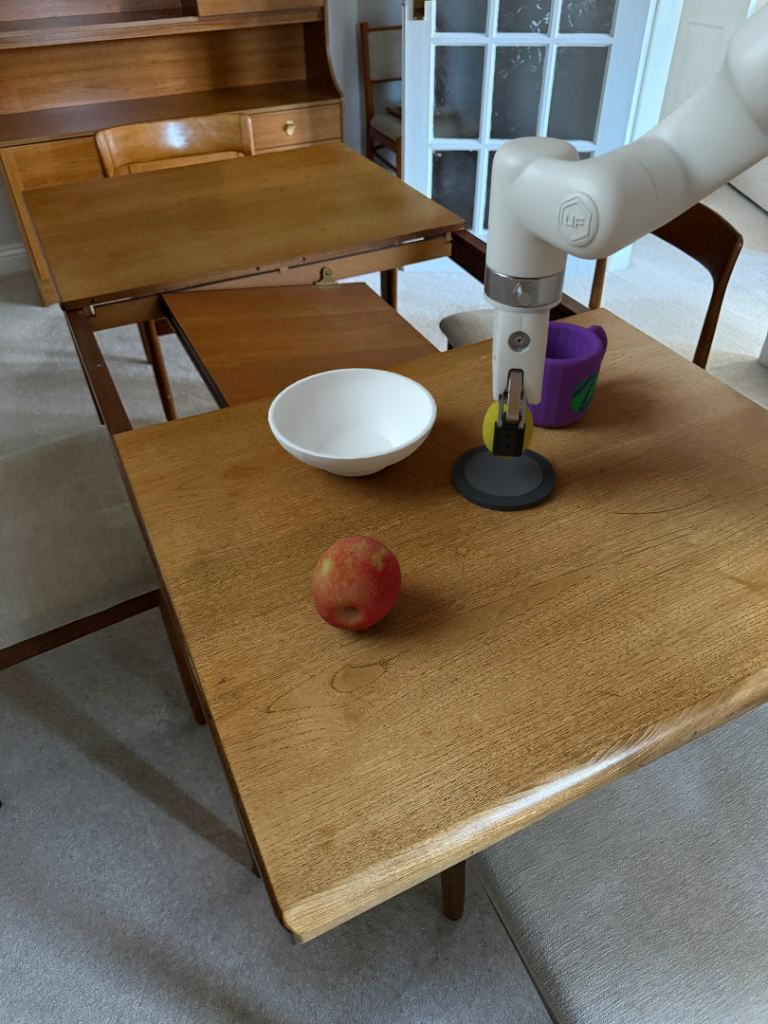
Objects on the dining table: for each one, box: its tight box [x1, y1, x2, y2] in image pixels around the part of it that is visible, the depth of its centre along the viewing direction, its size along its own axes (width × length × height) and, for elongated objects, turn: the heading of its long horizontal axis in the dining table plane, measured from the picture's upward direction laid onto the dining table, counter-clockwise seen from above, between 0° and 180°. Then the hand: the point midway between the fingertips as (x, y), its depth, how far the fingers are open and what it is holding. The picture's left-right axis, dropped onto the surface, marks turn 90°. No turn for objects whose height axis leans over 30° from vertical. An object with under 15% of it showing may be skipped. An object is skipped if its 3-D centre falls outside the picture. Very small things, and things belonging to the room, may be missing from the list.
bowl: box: [267, 367, 438, 477], centre depth 88 cm, size 20×20×7 cm
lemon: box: [482, 401, 534, 459], centre depth 82 cm, size 6×6×8 cm
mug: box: [526, 321, 609, 428], centre depth 96 cm, size 17×11×10 cm, turn 133°
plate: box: [451, 444, 557, 512], centre depth 86 cm, size 12×12×1 cm
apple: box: [311, 535, 402, 631], centre depth 68 cm, size 8×8×8 cm
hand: (507, 437), depth 83 cm, fingers closed on lemon, 5 cm apart
